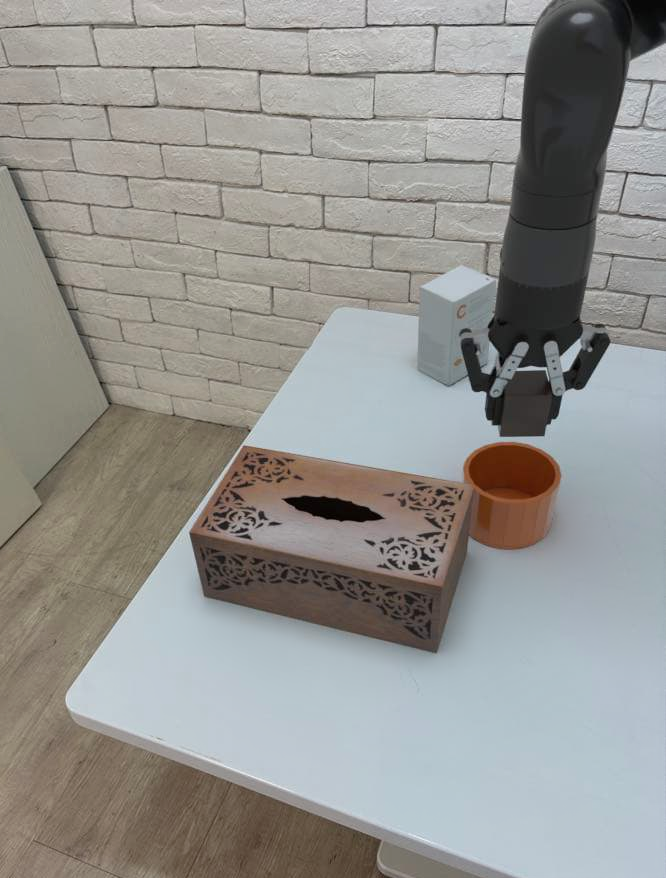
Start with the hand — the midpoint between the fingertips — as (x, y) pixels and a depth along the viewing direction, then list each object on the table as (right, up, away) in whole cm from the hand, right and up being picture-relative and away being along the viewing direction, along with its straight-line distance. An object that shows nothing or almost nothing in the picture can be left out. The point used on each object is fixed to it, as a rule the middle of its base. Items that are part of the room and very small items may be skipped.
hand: (520, 419), depth 82 cm
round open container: (+1, -10, +10) cm, 14 cm away
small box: (+1, +12, +32) cm, 34 cm away
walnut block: (0, 0, 0) cm, 0 cm away
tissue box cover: (-18, -16, +7) cm, 25 cm away
